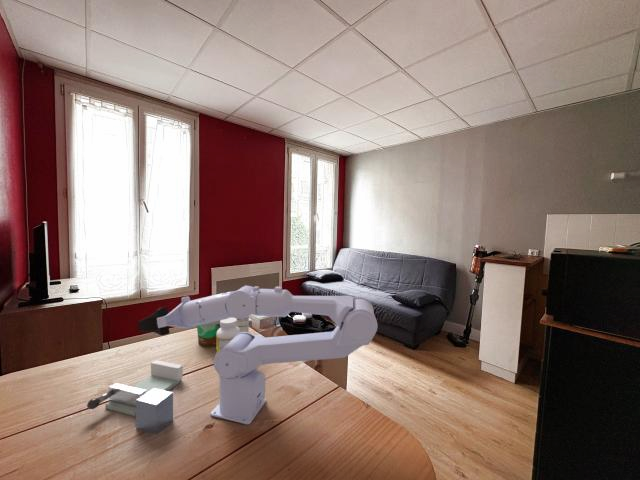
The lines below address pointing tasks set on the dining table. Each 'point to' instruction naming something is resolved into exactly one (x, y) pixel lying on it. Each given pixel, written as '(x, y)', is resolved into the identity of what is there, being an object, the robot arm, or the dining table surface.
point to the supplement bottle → (226, 332)
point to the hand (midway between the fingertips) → (153, 322)
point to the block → (154, 410)
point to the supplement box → (243, 324)
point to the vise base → (152, 383)
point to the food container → (208, 333)
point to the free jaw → (118, 395)
